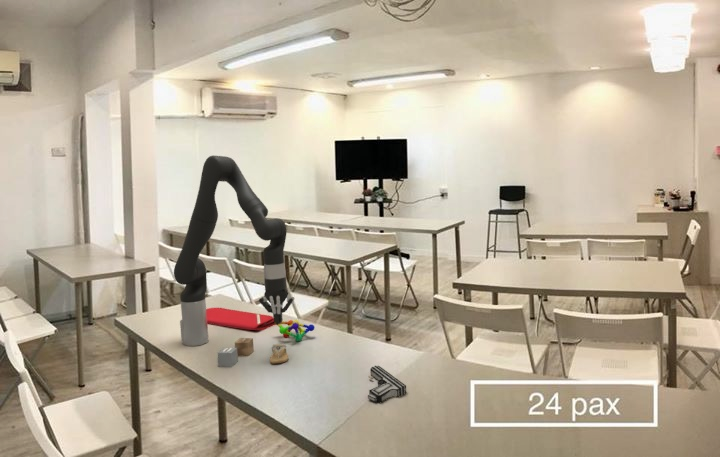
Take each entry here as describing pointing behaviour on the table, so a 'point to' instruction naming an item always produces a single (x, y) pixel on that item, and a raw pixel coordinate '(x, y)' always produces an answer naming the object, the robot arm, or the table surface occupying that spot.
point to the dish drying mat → (238, 319)
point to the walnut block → (244, 346)
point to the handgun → (385, 385)
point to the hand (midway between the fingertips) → (278, 323)
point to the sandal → (279, 354)
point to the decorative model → (296, 327)
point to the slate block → (227, 357)
